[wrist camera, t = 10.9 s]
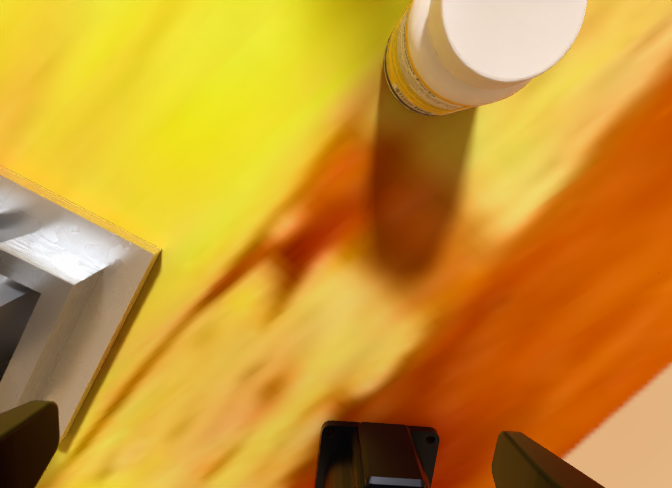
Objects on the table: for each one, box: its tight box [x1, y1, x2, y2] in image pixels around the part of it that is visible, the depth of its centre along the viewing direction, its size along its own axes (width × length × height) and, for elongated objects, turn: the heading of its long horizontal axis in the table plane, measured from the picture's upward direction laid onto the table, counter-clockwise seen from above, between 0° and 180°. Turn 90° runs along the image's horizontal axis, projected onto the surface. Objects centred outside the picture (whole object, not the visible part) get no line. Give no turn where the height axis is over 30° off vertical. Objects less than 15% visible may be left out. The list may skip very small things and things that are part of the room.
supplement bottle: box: [384, 0, 587, 116], centre depth 15 cm, size 5×5×8 cm
